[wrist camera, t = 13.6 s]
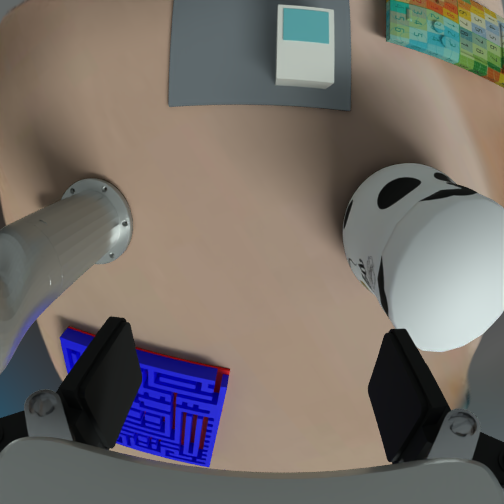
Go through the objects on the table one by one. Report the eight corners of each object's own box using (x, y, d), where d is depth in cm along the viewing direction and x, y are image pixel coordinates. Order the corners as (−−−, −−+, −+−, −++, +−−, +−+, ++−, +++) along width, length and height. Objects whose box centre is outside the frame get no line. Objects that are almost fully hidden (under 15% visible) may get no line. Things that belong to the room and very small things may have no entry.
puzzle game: (390, -37, 22) (509, 19, 22) (379, -24, 27) (492, 24, 26) (392, 36, 27) (513, 87, 26) (379, 45, 31) (495, 88, 31)
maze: (70, 324, 49) (59, 336, 46) (230, 367, 50) (227, 383, 47) (91, 420, 61) (85, 431, 57) (211, 453, 61) (209, 467, 58)
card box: (276, 19, 30) (278, 4, 25) (326, 23, 30) (334, 9, 25) (275, 85, 33) (276, 78, 29) (325, 89, 33) (334, 82, 28)
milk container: (332, 282, 43) (363, 370, 26) (338, 155, 37) (392, 177, 20) (438, 278, 42) (500, 348, 25) (454, 164, 36) (542, 193, 19)
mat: (169, 106, 35) (168, 106, 35) (176, -15, 29) (175, -17, 28) (349, 111, 34) (350, 110, 34) (347, -13, 28) (348, -15, 27)
